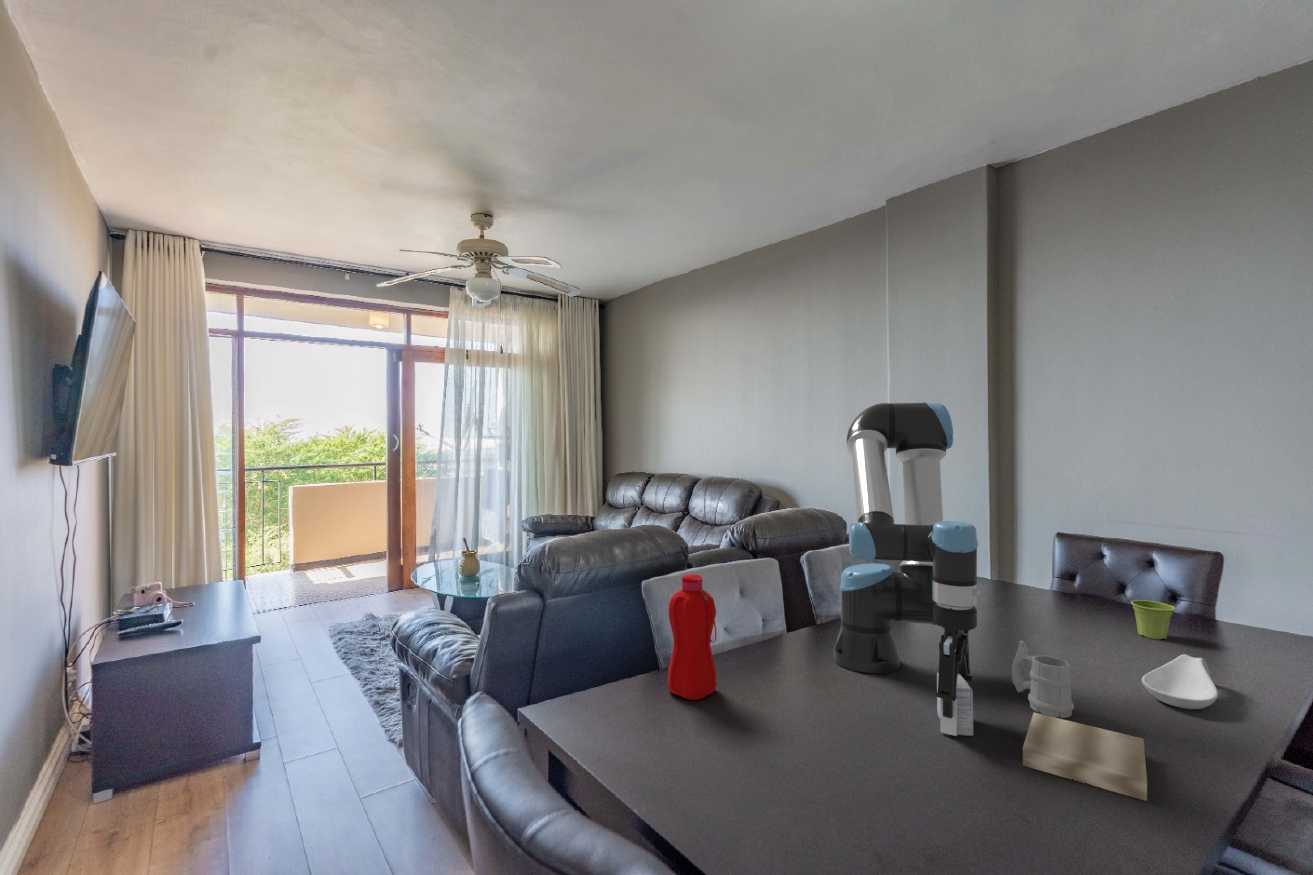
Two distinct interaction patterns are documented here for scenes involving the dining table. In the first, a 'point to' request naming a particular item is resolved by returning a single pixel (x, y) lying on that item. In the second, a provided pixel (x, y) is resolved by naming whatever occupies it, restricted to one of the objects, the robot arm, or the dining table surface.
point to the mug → (1044, 682)
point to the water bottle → (692, 640)
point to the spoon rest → (1182, 683)
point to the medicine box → (962, 707)
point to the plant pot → (1152, 618)
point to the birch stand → (1087, 755)
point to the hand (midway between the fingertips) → (954, 723)
